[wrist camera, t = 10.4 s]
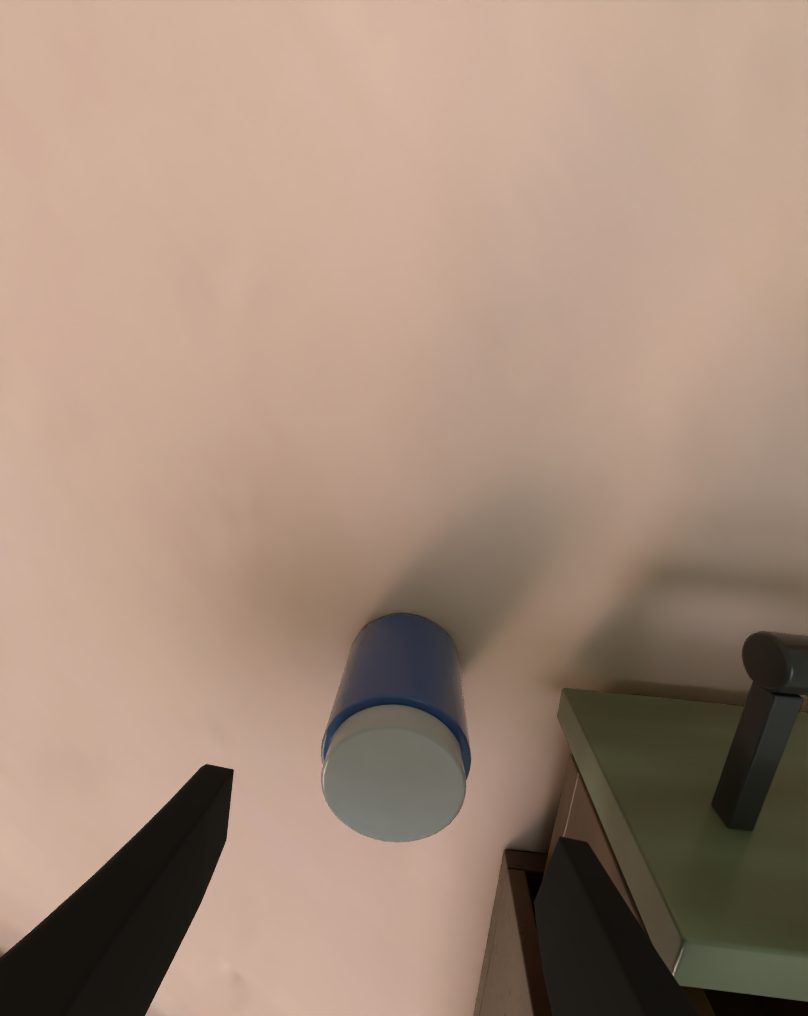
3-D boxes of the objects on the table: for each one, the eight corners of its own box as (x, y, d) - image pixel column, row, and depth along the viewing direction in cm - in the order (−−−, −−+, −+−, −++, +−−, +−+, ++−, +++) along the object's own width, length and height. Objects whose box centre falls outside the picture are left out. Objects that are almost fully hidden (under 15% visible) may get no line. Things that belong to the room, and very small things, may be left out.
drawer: (589, 553, 12) (766, 714, 6) (932, 585, 12) (1519, 792, 6) (509, 941, 17) (562, 1281, 10) (761, 972, 16) (980, 1345, 10)
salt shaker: (371, 596, 14) (343, 695, 9) (476, 637, 14) (502, 754, 9) (334, 686, 15) (291, 818, 10) (433, 722, 15) (436, 870, 10)
